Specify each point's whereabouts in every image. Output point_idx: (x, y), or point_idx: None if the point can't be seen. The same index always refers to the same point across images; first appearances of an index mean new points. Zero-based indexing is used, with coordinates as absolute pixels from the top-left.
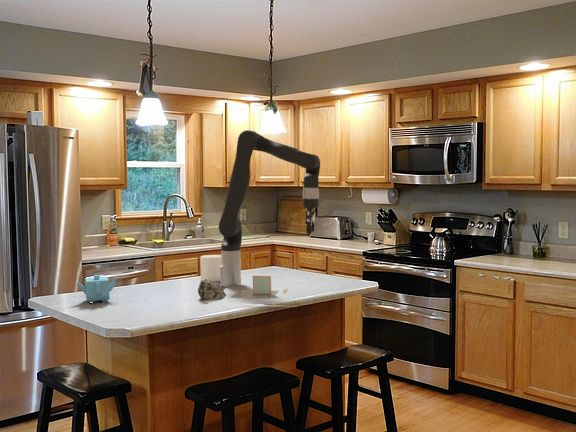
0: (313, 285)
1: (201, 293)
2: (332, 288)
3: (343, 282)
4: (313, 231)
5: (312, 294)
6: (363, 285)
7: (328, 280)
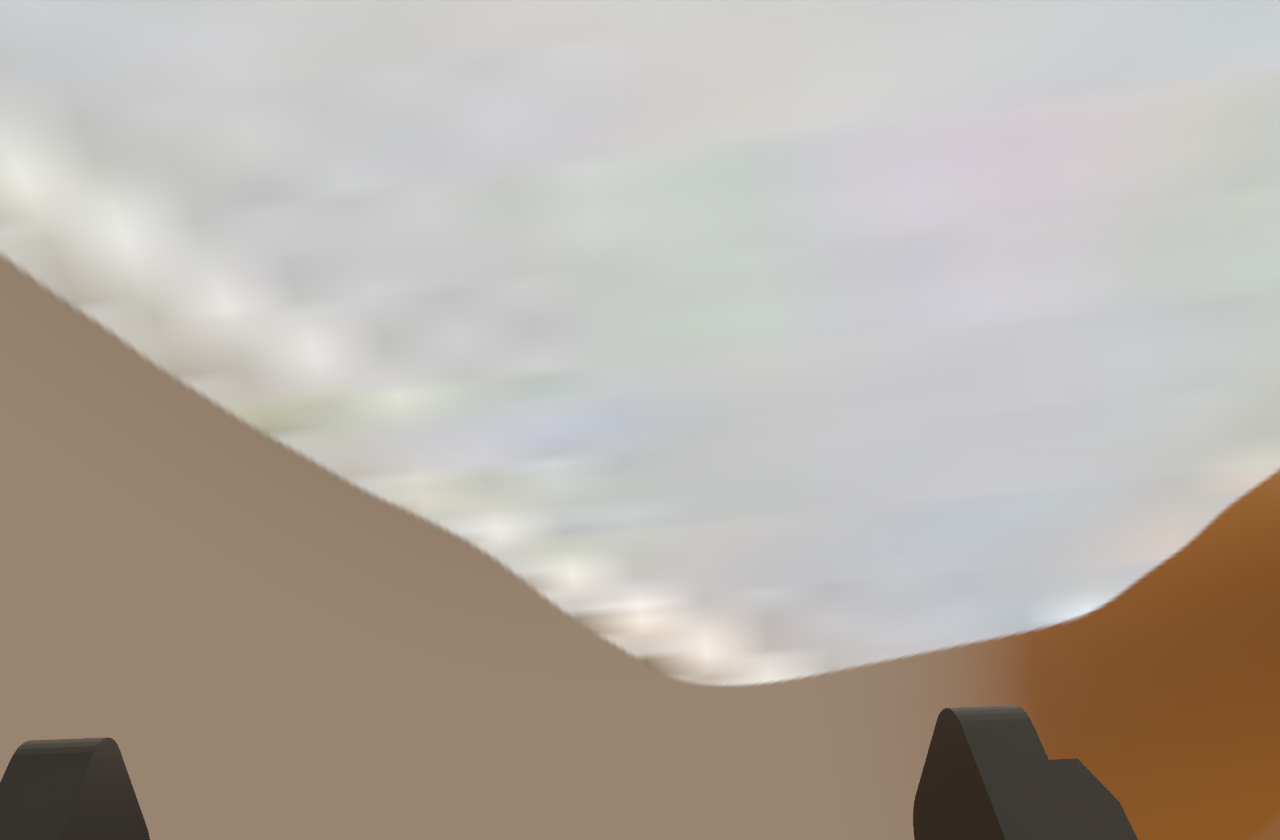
0: (820, 30)
1: None
2: (592, 327)
3: (1040, 403)
4: (917, 818)
5: (66, 122)
6: (819, 614)
7: (1235, 199)
